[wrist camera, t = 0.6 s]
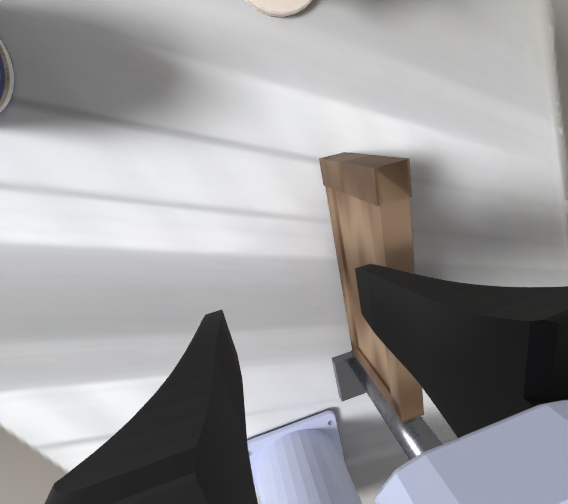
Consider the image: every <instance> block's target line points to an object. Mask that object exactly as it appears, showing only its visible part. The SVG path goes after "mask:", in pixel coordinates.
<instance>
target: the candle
mask: <svg viewBox="0 0 568 504" xmlns="http://www.w3.org/2000/svg"><path fill="white" fill-rule="evenodd" d="M245 1H246V2H247V3H248V4H250V5H251V6H252V7H253V8H255V9H256V10H257V11H260V12H262V13H264V14H267V15H269V16H277V17H285V16H290V15H294V14H296V13H298V12H299V11H301V10H303V9H304V8H306V7H307V6H308V5H309V4H310V2H311V1H312V0H245Z"/></svg>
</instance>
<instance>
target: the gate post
mask: <svg viewBox="0 0 568 504" xmlns="http://www.w3.org/2000/svg"><path fill="white" fill-rule="evenodd" d="M332 362H333V367H334V372H335V377H336V382H337V387H338V392H339V397H340V398H341V400H342V401H345V400H347V399H350V398H353V397H356V396H358V395H361V394H364V393H366V392H367V394H368V395H369V397H370V399H371V400H372V402H373V403H374V405H375V406H376V408H377V409H378V411H379V413H380V414H381V416H382V417H383V419H384V420H385V422H386V423H387V425H388V427H389V428H390V430H391V431H392V433H393V434H394V436H395V437H396V439H397V441H398V442H399V444H400V445H401V447H402V448H403V450H404V451H405V453H406V455H407V456H408V458H409V459H410V460H411V459H413V458H415V457H416V456H418V455H419V454H421V453H423V452H426V451H428V450H431V449H433V448H435V447H438V446H440V445H443V444H442V443H441V442H440V440H439V439H438V438H437V436H436V435H435V434H434V433H433V431H432V430H431V429H430V428H429V426H428V425H427V424H426V422H425V421H424V420H423V419H422V417H421V416H419V417H417V418H414V419H412V420H409V421H407V422H404V423H402V422H401V421H400V419H399V418H398V417H397V415H396V414H395V412H394V411H393V409H392V408H391V407H390V405H389V404H388V402H387V401H386V399H385V398H384V397H383V395H382V394H381V392H380V391H379V389H378V388H377V387H376V385H375V384H374V382H373V381H372V379H371V378H370V377H369V375H368V374H367V372H366V371H365V369H364V368H363V366H362V365H361V364H360V362H359V361H358V359H357V358H356V356H355V355H354V354H353V351H351V352H349V353H346V354H343V355H340V356H338V357H335V358H332Z"/></svg>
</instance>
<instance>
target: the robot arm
mask: <svg viewBox="0 0 568 504" xmlns="http://www.w3.org/2000/svg"><path fill="white" fill-rule="evenodd" d="M355 273H356V280H357V287H358V294H359V301H360V308H361V314H362V315H363V317H364V318H365V320H366V321H367V323H368V325H369V326H370V327H371V329H372V330H373V332H374V333H375V334H376V336H377V337H378V338H379V339H380V340H381V341H382V342H383V343H384V345H385V346H386V347H387V348H388V349H389V350H390V351H391V352H392V353H393V355H394V356H395V357H396V358H397V359H398V360H399V361H400V362H401V363H402V365H403V366H404V367H405V368H406V369H407V370H408V371H409V372H410V373H411V374H412V376H413V377H414V378H415V379H416V380H417V382H418V383H419V384H420V385H421V386H422V388H423V389H424V391H425V392H426V393H427V395H428V396H429V397H430V399H431V400H432V401H433V403H434V404H435V406H436V407H437V408H438V410H439V411H440V413H441V414H442V415H443V417H444V418H445V420H446V421H447V423H448V424H449V425H450V427H451V428H452V430H453V431H454V433H455V434H456V436H457V437H458V438H457V439H455V440H452V441H450V442H448V443H445V444H443V445H440V446H438V447H435V448H433V449H431V450H428V451H426V452H423V453H421V454H419V455H418V456H416V457H415V458H413V459H411V460H410V461H408V462H407V463H405V464H403V465H402V466H400V467H399V468H397V469H396V470H395V471H394V472H393V473H392V475H391V476H390V477H389V478H388V480H387V481H386V482H385V483H384V485H383V486H382V487H381V488H380V490H379V491H378V494H377V497H376V501H375V504H568V286H567V287H500V286H484V285H474V284H466V283H458V282H451V281H445V280H440V279H435V278H430V277H425V276H421V275H416V274H412V273H408V272H404V271H400V270H396V269H392V268H388V267H384V266H380V265H375V264H367V265H364V266H361V267H358V268H355ZM248 451H249V452H248ZM254 485H255V486H254ZM255 488H256V490H257V493H258V495H259V498H260V502H261V504H362V502H361V500H360V498H359V495H358V493H357V491H356V488H355V486H354V484H353V482H352V479H351V477H350V475H349V472H348V470H347V468H346V465H345V460H344V456H343V451H342V446H341V441H340V436H339V432H338V427H337V422H336V417H335V414H334V412H333V411H331V410H328V411H325V412H322V413H320V414H317V415H314V416H312V417H309V418H306V419H304V420H301V421H298V422H296V423H293V424H290V425H288V426H285V427H282V428H280V429H277V430H274V431H271V432H269V433H266V434H263V435H261V436H258V437H255V438H253V439H250V440H247V435H246V422H245V408H244V395H243V383H242V375H241V370H240V365H239V361H238V356H237V352H236V349H235V346H234V343H233V340H232V338H231V335H230V332H229V329H228V326H227V323H226V320H225V317H224V314H223V311H222V310H219V311H216V312H213V313H209V314H206V315H205V316H204V318H203V320H202V322H201V324H200V326H199V328H198V330H197V332H196V333H195V335H194V337H193V339H192V341H191V343H190V344H189V346H188V348H187V350H186V351H185V353H184V355H183V356H182V358H181V359H180V361H179V363H178V364H177V366H176V367H175V369H174V370H173V371H172V373H171V374H170V376H169V377H168V378H167V379H166V381H165V382H164V383H163V384H162V386H161V387H160V388H159V389H158V391H157V392H156V393H155V394H154V395H153V396H152V397H151V399H150V400H149V401H148V402H147V403H146V404H145V405H144V406H143V407H142V408H141V409H140V410H139V411H138V412H137V413H136V415H135V416H134V417H133V418H132V419H131V420H130V421H129V422H128V423H126V424H125V425H124V426H123V427H122V428H121V429H120V430H119V431H118V432H117V433H116V434H115V435H114V436H112V437H111V438H110V439H109V440H108V441H107V442H106V443H105V444H103V445H102V446H101V447H100V448H99V449H98V450H96V451H95V452H94V453H93V454H91V455H90V456H89V457H88V458H86V459H85V460H84V461H83V462H81V463H80V464H79V465H78V466H76V467H75V468H74V469H72V470H71V471H70V472H69V473H67V474H66V475H65V476H64V477H63V478H61V479H60V480H58V481H57V482H56V483H55V484H54V485H53V487H52V489H51V491H50V494H49V496H48V498H47V500H46V502H45V504H258V503H257V497H256V492H255Z"/></svg>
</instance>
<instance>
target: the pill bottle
mask: <svg viewBox="0 0 568 504" xmlns="http://www.w3.org/2000/svg"><path fill="white" fill-rule="evenodd" d="M13 88H14V72H13V67H12V63H11V60H10V57H9V55H8V52H7V50H6V48H5V46H4V44H3V43H2V41H1V40H0V113H1V112H2V111H3V110H4V108H5V107H6V106H7V104H8V103H9V101H10V99H11V96H12V93H13Z"/></svg>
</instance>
